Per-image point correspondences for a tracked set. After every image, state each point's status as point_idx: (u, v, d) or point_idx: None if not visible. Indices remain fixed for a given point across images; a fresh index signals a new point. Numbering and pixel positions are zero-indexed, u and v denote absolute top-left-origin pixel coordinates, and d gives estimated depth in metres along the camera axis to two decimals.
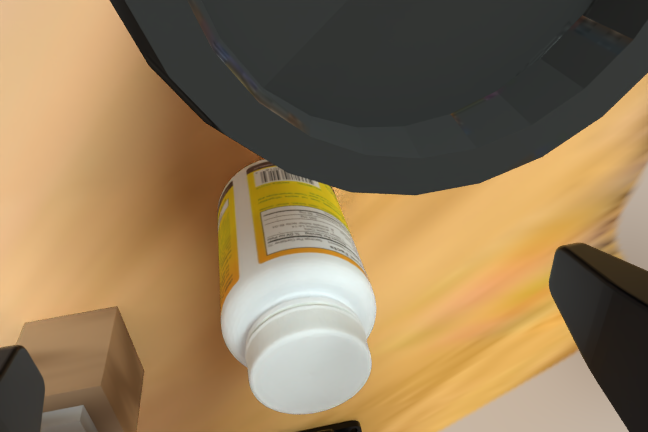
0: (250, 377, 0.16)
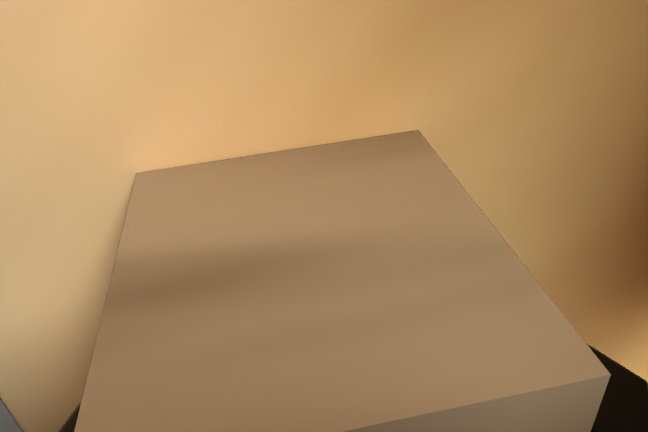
0: None
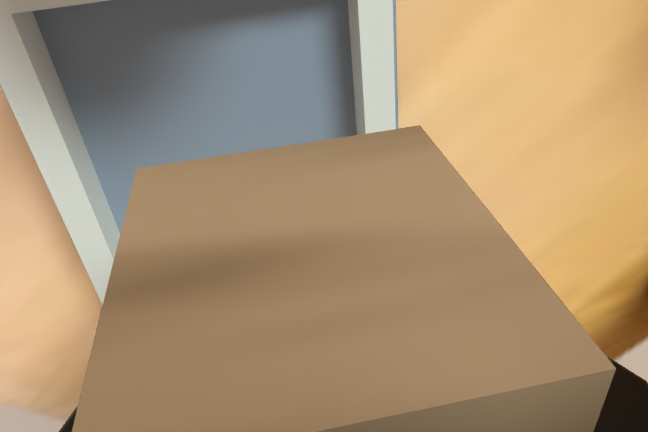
0: None
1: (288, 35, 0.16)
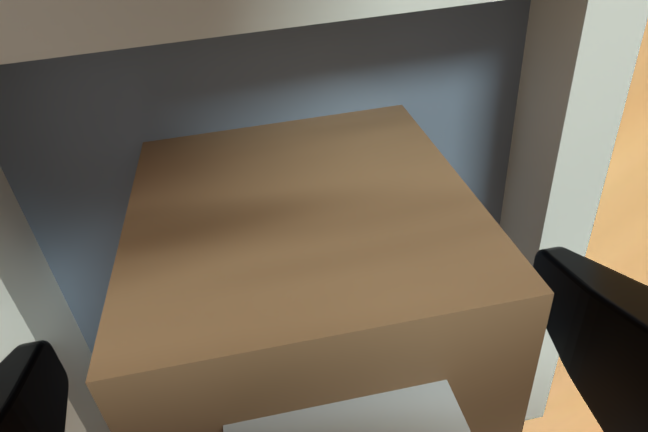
0: None
1: (416, 102, 0.09)
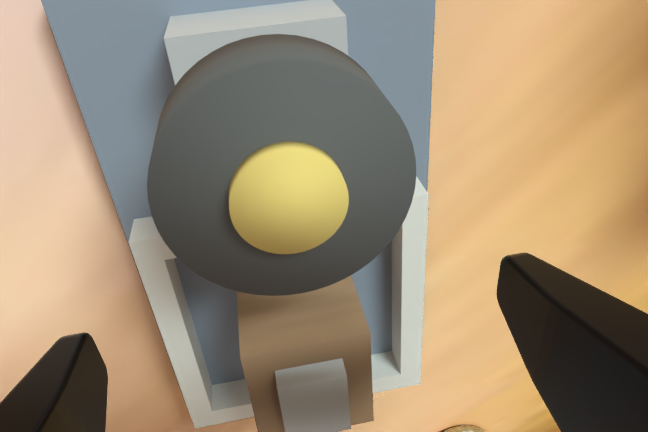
0: None
1: None
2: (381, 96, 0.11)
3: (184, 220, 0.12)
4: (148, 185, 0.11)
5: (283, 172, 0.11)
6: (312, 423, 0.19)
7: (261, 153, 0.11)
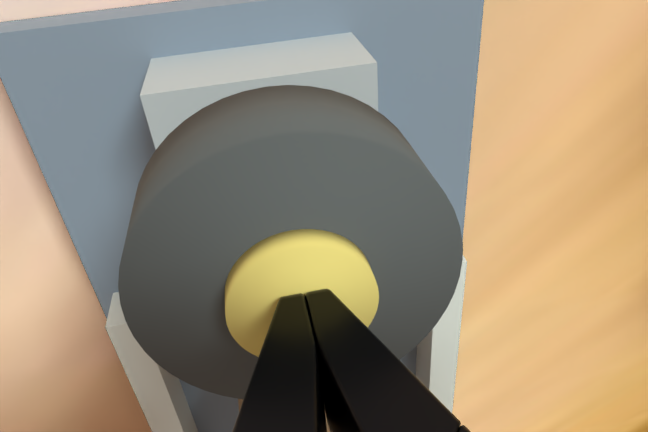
0: None
1: None
2: (423, 171, 0.08)
3: (168, 324, 0.09)
4: (120, 287, 0.08)
5: (296, 271, 0.08)
6: None
7: (267, 248, 0.08)
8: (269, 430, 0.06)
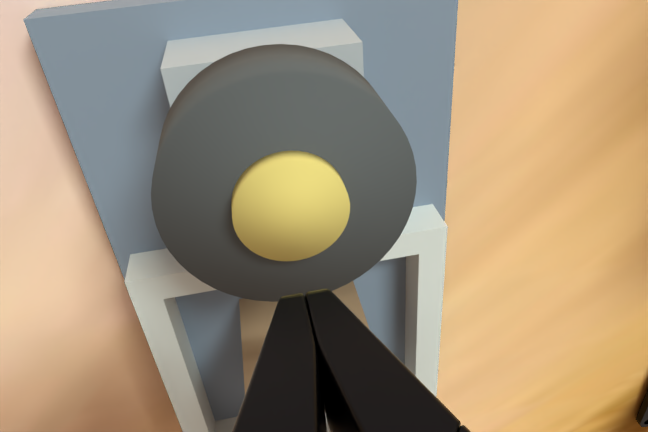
0: None
1: None
2: (382, 106, 0.11)
3: (188, 228, 0.12)
4: (152, 194, 0.11)
5: (285, 181, 0.11)
6: None
7: (264, 163, 0.11)
8: (269, 430, 0.06)
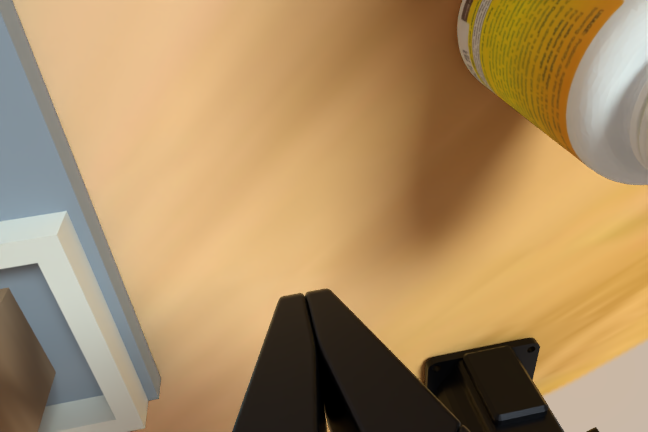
0: None
1: (15, 286, 0.20)
2: None
3: None
4: None
5: None
6: None
7: None
8: (269, 430, 0.06)
